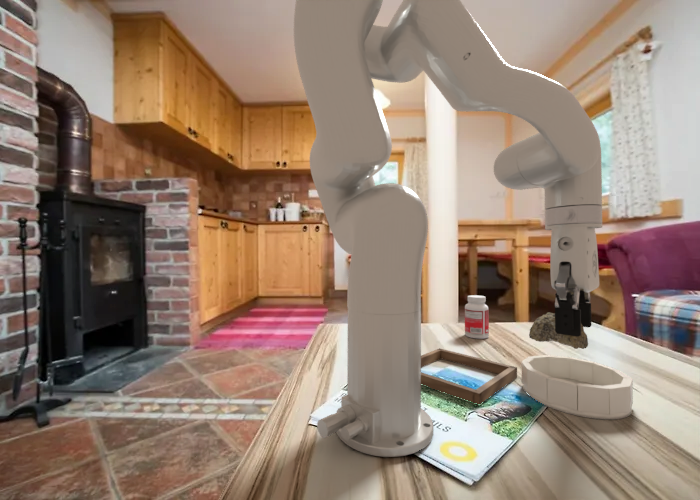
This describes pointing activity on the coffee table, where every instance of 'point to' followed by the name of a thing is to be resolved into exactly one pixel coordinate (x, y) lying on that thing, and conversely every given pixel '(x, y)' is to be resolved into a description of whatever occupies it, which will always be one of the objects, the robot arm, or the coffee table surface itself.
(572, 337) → the rock
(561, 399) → the bowl
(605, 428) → the coffee table surface
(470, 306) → the pill bottle
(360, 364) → the robot arm
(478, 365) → the rectangular wooden frame
